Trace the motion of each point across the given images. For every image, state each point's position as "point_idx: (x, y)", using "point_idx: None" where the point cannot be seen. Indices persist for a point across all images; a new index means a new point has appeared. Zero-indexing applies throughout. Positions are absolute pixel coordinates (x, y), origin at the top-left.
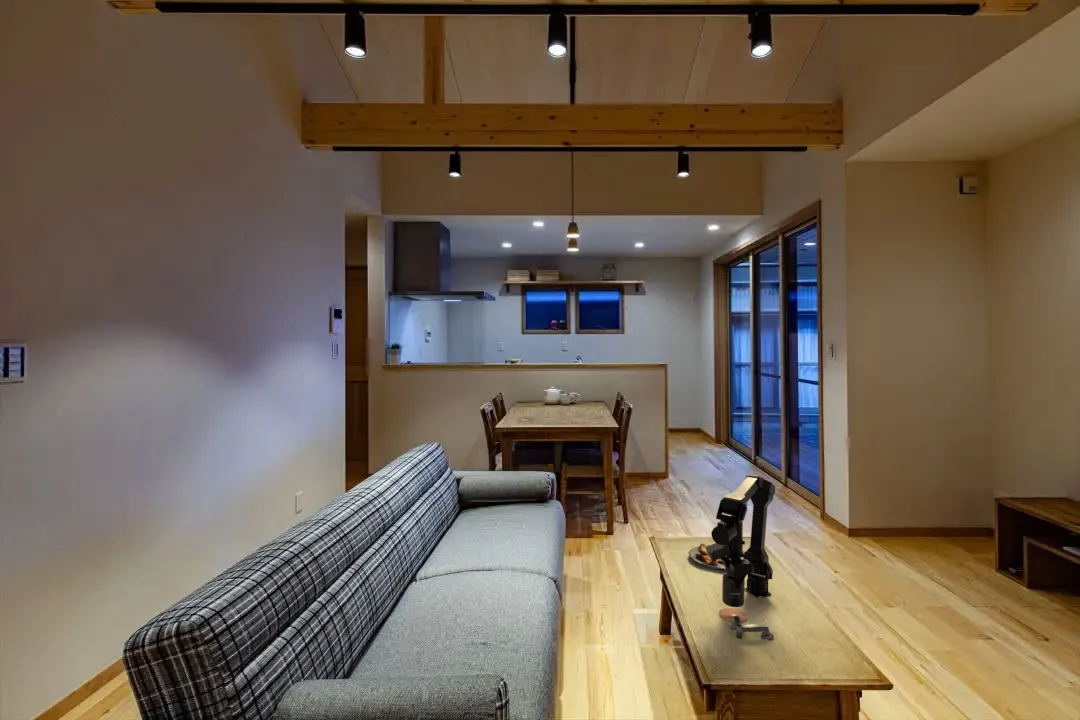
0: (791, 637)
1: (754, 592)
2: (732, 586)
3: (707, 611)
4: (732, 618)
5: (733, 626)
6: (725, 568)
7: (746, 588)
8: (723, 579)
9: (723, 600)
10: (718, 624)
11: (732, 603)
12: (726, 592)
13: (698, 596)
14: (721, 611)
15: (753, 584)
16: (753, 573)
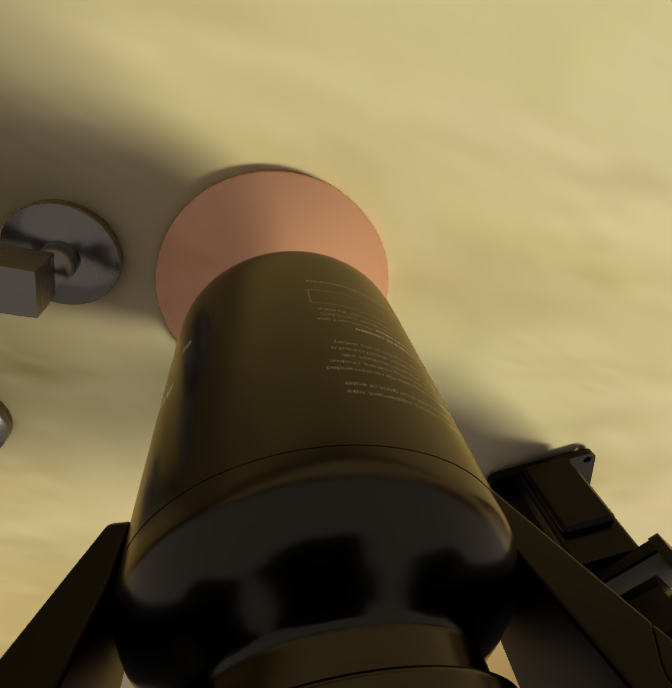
0: (6, 525)
1: (520, 487)
2: (141, 498)
3: (373, 78)
4: (207, 265)
5: (35, 223)
6: (626, 617)
7: (589, 459)
8: (315, 449)
9: (276, 259)
10: (100, 93)
11: (181, 332)
12: (216, 342)
13: (655, 102)
14: (336, 213)
15: (549, 526)
16: (619, 585)
